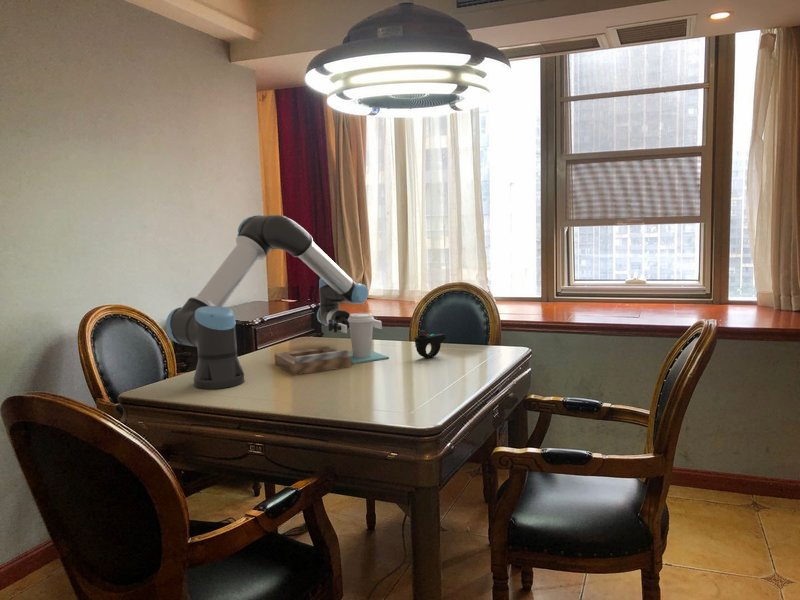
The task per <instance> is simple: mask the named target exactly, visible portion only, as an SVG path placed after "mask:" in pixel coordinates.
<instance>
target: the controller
mask: <svg viewBox="0 0 800 600" xmlns="http://www.w3.org/2000/svg"><path fill="white" fill-rule="evenodd" d="M445 340H447V337H446V334H444V333H431V334H429V333H428V334H426V330H421V329H420V330H419V334H418V335H417V336H414V344H415V345H414V347H415V349H416V352H417V353H418V355H419V356H420V357H422V358H425V359H432V358H434V357H437V355H438V354H439V352H440V350H441V343H443V342H444V341H445ZM429 344H430V351H429V352H428V353H427V346H428V345H429Z"/></svg>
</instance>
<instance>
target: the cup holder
mask: <svg viewBox="0 0 800 600" xmlns="http://www.w3.org/2000/svg"><path fill="white" fill-rule="evenodd" d="M348 354H349V353H348V350H347V349H342V350H336V349H334V348H332V347H329V346H323V347H316V348H308V349H301V350H294V351H286V352H279V353H274V364H275V365H277V366H279V367H280V368H282V369H283V368H284V369H283V370H285V369H286V370H285V371H287V372H289V373H290V372H291V374H292V373H293V374H292V375H294V374H298V375H301V374H300V373H305V374H309V373H308V372H311V373H316V372H315V371H318V372H322V371H323V370H325V371H330V370H329V369H331V370H336V369H335V368H338V369H343V368H342V367H345V368H351V367H352V363H351V356H349V355H348ZM350 366H351V367H350ZM323 372H324V371H323Z"/></svg>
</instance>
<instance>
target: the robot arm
mask: <svg viewBox="0 0 800 600" xmlns="http://www.w3.org/2000/svg"><path fill="white" fill-rule="evenodd" d="M237 232H238V233H237V237H236V238H235V244H236V245H235V246H234V248H233V249H232V251H230V253H229V254H228V255H227V257H226V258H225V260H224V261H223V262H222V263H221V264H220V266H219V267H218V269H217V270H216V271H215V273H214V274H213V275H212V277H210V279H209V280H208V281H207V283H206V284H205V285H204V287H203V288H202V289H201V290H200V292H199V293H198V294H197V295H196V296H191V297H189V298H188V299H187V301H186V302H185V303H184V304H183V306H181V307H176V308H175V309H173V310H171V311H170V312H169V314H168V315H167V318H166V321H165V329H166V333H167V336H168V337H169V338H170V339H171V340H172V342H175V343H177V344H179V345H182V346H189V347H196V348H197V359H198V360H197V363H196V368H195V372H194V375H193V387H195V388H197V389H202V390H217V389H225V388H231V387H235V386H239V385H241V384H243V383H244V382H245V372H244V370H243V367H242V365H241V363H240V360H239V358H238V345H237V344H238V343H237V329H236V328H237V327H236V326H237V322H236V317H235V313H234V311H233V310H232V309H231V308H229V307H225V306H224V305H225V304H226V303H227V302H228V300H229V299H230V297H231V296H232V295H233V293H234V292H235V290H236V289H238V286H240V284H241V282H242V281H243V280H244V279H245V277H246V276H247V274H248V273H249V272H250V271H251V270H252V268H253V266H254V265H255V264H256V263H257V261H261V260H264V259H265V258H266V257H267V255H268V254H269V252H270V251H271V250H282V251H285V252H287V253H289V254H290V255H291V256H292V257H294V258H298V259H300V260H301V261H302V263H304V264H305V265H307V266H308V268H309V269H310V270H312V271H313V273H315V274H316V275H318V277H319V280H318V282H319V283H318V284H319V286H318V292H319V293H318V294H319V308H318V310H317V312H316V318H317V322H319V323H320V324H321V325H323V326H326V327H328V331H329V332H331V331H333V333H335V334H336V333H338V332H341V333H343V334H348V330H350V327H349V322H348V318H349V316H350V314H351V313H349V311H347V310H343V309H340V303H347V304H354V305H356V304H358V305H359V304H360V305H361V304H363V303H365V302H366V301H367V298H368V297H369V289H368V286H366V284H363V283H360V282H358V283H357V282H356V281H354V280H353V278H351V277H350V276H349V275H348V274H347V273H346V272H345V271H344V270H343V269H342V268H340V266H339V265H338V264H337V263H336V262H334V260H332V258H330V257H329V256H328V254H326V252H324V251H323V249H321V248H320V247H319V246H318V245H317V244H316V243H315V241H314V239H313V236H312V235H311V234H310V233H309V232H308V231H307V230H306V229H305V228H304V227H302V226H301V225H300V224H299V223H297V222H296V221H295V220H293V219H291V218H289V217H287V216H285V215H282V214H281V215H280V214H275V215H261V214H260V215H259V214H257V215H252V216H248V217H245V219H243V220H242V221H241V223H240V224H239V225H238V228H237ZM373 317H374V321H373V328H376V329H378V330H383V323H382V320H380V318H379V317H376V316H373Z"/></svg>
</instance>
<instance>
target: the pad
mask: <svg viewBox="0 0 800 600" xmlns="http://www.w3.org/2000/svg"><path fill="white" fill-rule="evenodd" d="M348 355H349V356H351V365H355V364H354V363H357V364H361V363H360V362H363V363H368V362H369V361H370V362H375V361H382V360H384V361H385V360H389V359H390V356H387V355H385V354H382V353H380V352H376V351H374V350H371V356H370V357H367V358H355V357H353V352H352V353H351V352H350V353H348Z"/></svg>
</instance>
